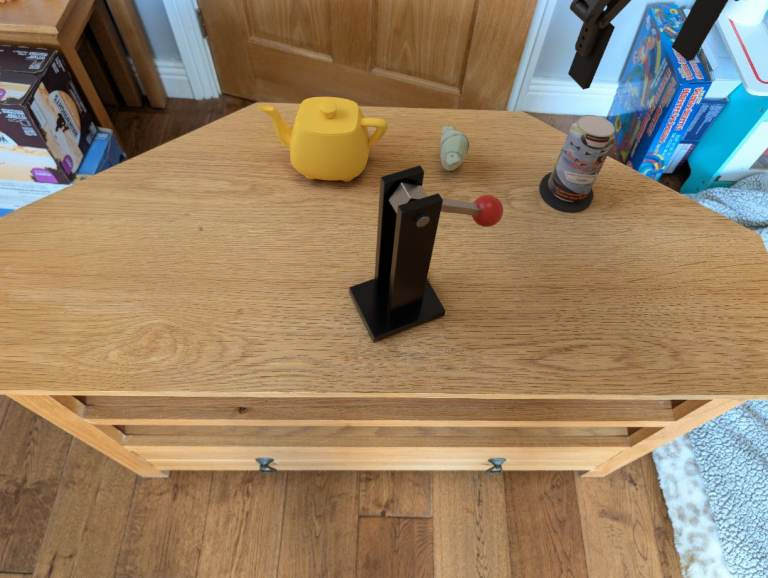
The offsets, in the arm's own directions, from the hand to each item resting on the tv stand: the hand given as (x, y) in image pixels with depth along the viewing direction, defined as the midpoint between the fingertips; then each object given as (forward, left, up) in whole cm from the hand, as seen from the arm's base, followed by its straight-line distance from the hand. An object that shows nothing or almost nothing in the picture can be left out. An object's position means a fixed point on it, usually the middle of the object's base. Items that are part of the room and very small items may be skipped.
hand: (631, 67), depth 58 cm
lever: (-3, +22, -11) cm, 25 cm away
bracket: (-3, +27, -27) cm, 38 cm away
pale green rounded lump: (+16, +9, -27) cm, 32 cm away
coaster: (+5, -5, -27) cm, 27 cm away
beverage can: (+5, -5, -26) cm, 27 cm away
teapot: (+24, +26, -27) cm, 44 cm away
